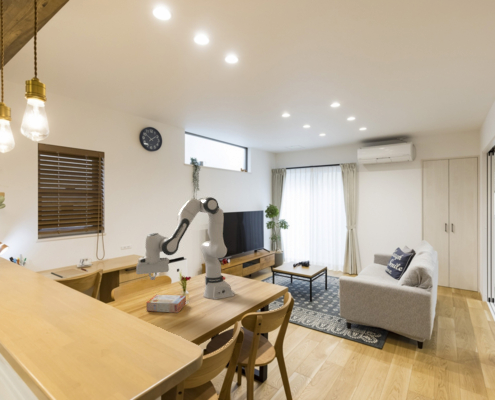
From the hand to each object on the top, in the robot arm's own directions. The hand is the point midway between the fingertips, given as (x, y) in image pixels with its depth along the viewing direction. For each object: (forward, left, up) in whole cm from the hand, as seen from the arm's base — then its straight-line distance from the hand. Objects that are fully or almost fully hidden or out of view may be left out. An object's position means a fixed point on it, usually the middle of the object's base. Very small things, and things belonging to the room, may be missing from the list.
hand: (152, 279), depth 183 cm
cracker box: (+1, +1, -14) cm, 15 cm away
